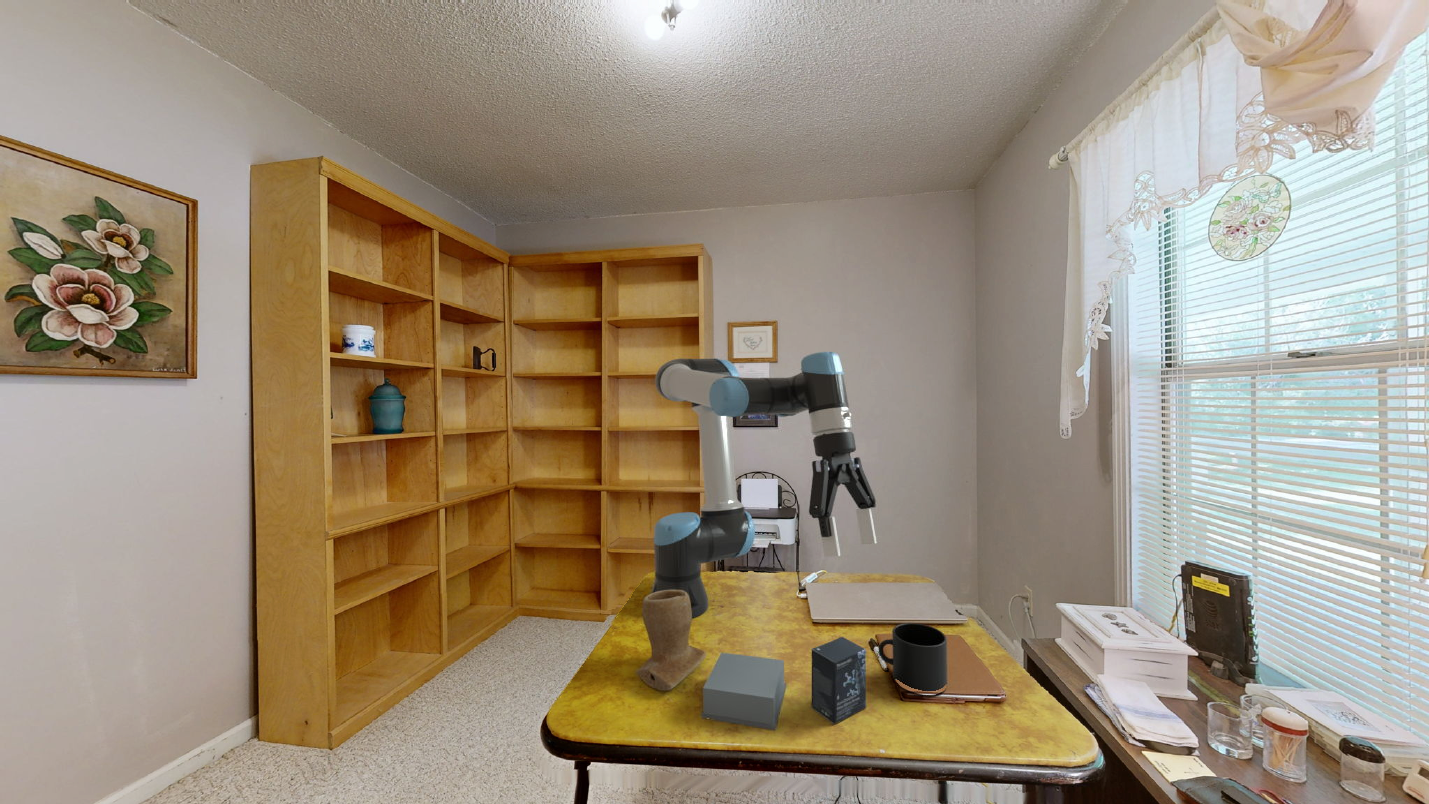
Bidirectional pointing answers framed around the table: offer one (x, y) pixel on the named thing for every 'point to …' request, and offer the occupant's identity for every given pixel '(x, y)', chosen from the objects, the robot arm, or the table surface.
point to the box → (838, 679)
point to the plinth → (745, 691)
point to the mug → (918, 656)
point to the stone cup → (668, 639)
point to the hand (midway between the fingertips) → (851, 549)
